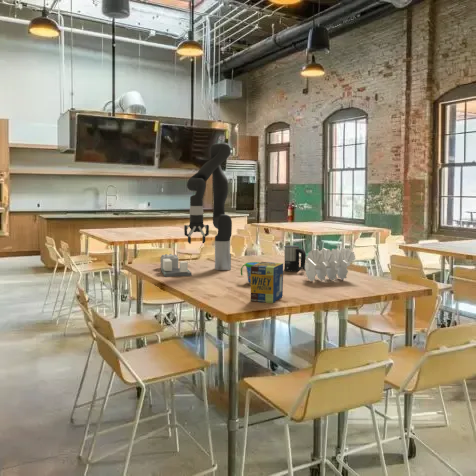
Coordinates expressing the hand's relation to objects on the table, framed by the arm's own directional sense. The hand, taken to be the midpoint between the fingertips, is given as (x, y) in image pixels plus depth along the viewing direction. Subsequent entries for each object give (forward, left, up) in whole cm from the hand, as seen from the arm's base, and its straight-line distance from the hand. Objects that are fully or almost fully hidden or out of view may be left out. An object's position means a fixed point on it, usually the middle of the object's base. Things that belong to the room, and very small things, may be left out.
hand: (196, 243), depth 297 cm
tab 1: (+15, -13, -16) cm, 26 cm away
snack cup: (-26, +32, -18) cm, 45 cm away
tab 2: (+7, 0, -16) cm, 17 cm away
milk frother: (-62, -4, -18) cm, 64 cm away
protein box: (-20, +72, -18) cm, 77 cm away
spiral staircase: (-65, +34, -18) cm, 75 cm away
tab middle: (+15, -6, -16) cm, 23 cm away
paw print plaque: (+13, -27, -18) cm, 35 cm away
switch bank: (+11, -6, -18) cm, 22 cm away
